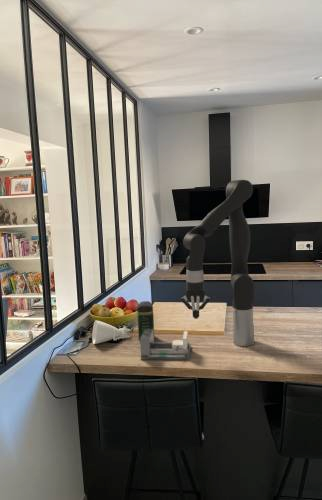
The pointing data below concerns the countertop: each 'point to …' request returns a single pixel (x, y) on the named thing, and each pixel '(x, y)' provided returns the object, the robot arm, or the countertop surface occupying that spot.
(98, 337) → the funnel
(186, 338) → the cream t-shaped handle
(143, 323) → the coffee jar
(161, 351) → the frame
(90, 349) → the countertop surface
